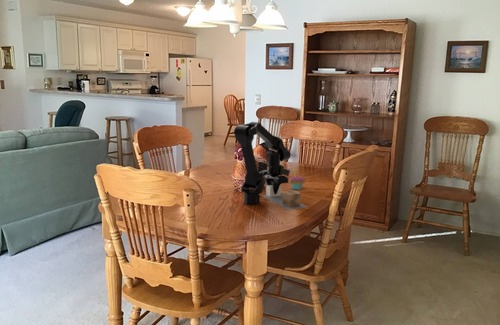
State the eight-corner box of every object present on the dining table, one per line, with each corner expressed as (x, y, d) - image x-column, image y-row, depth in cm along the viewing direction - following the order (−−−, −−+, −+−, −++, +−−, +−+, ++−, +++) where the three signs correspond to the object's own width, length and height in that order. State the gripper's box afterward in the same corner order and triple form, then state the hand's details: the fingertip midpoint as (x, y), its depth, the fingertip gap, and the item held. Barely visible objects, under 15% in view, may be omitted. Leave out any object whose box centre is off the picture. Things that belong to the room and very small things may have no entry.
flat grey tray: (287, 211, 192) (288, 199, 191) (261, 196, 214) (261, 185, 212) (307, 208, 197) (308, 196, 196) (280, 194, 218) (280, 183, 217)
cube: (289, 207, 195) (289, 194, 194) (282, 203, 200) (283, 191, 199) (300, 205, 198) (300, 193, 196) (293, 202, 203) (293, 190, 202)
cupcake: (292, 191, 226) (292, 169, 223) (286, 187, 234) (287, 165, 231) (307, 190, 228) (307, 168, 225) (301, 186, 236) (301, 165, 233)
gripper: (298, 165, 206) (296, 195, 209) (278, 158, 222) (277, 186, 225) (278, 167, 201) (277, 198, 204) (259, 159, 217) (259, 189, 220)
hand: (273, 192), depth 213 cm, fingers closed on flat grey tray, 4 cm apart
